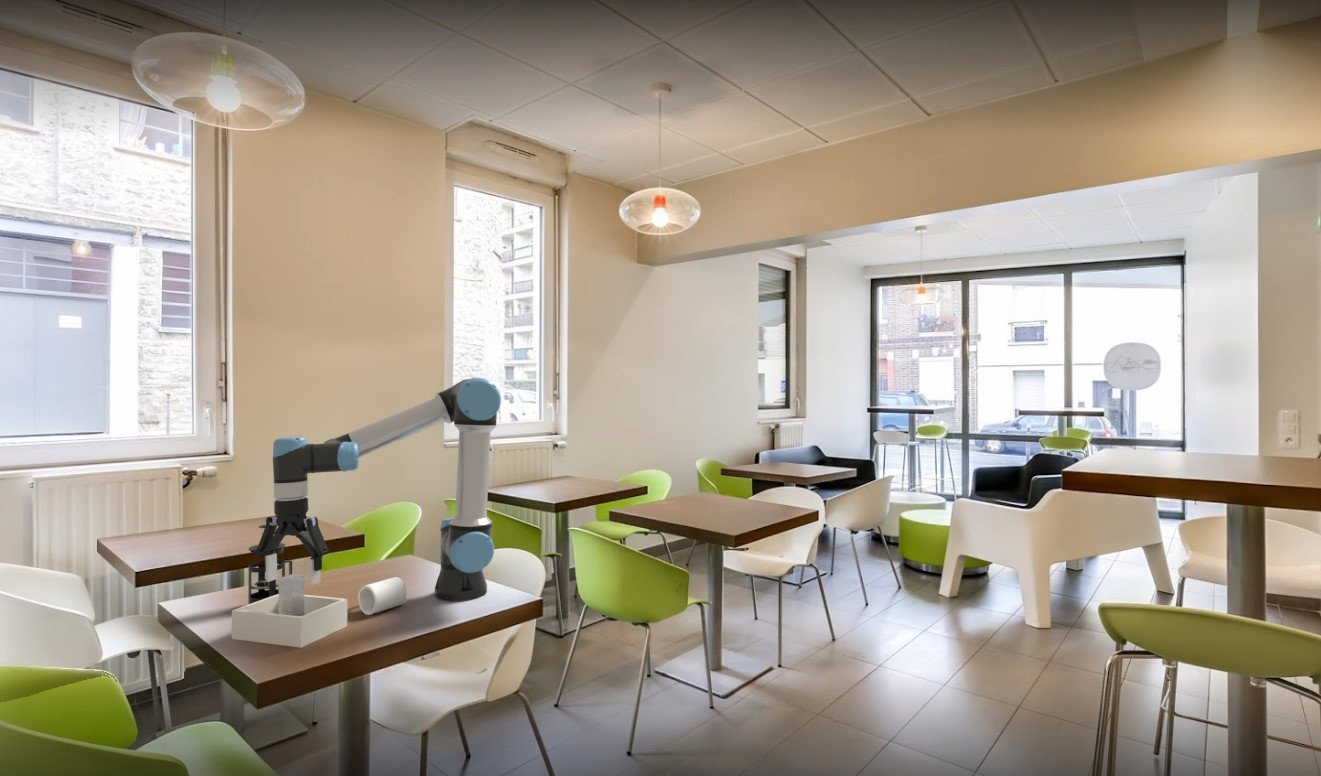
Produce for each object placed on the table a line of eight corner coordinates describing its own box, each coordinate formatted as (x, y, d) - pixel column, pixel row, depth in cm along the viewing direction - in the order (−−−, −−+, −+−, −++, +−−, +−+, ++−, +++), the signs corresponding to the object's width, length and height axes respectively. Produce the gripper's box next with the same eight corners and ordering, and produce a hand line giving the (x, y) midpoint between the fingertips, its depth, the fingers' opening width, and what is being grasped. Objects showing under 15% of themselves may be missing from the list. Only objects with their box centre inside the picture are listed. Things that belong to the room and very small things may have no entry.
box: (347, 626, 169) (347, 599, 170) (300, 647, 155) (301, 618, 155) (282, 618, 175) (282, 592, 175) (231, 638, 161) (231, 610, 161)
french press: (251, 614, 179) (251, 530, 179) (239, 606, 185) (240, 525, 185) (297, 603, 188) (297, 523, 188) (285, 597, 194) (285, 519, 194)
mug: (407, 607, 185) (407, 578, 185) (375, 617, 176) (376, 588, 176) (379, 600, 191) (379, 573, 191) (348, 610, 182) (348, 581, 182)
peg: (291, 635, 163) (291, 579, 163) (278, 634, 164) (278, 578, 164) (304, 630, 167) (304, 575, 167) (291, 628, 168) (291, 574, 168)
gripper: (343, 496, 166) (345, 580, 166) (264, 494, 172) (266, 574, 172) (320, 502, 158) (322, 589, 158) (239, 499, 165) (241, 583, 165)
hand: (293, 582), depth 165 cm, fingers open, 13 cm apart
